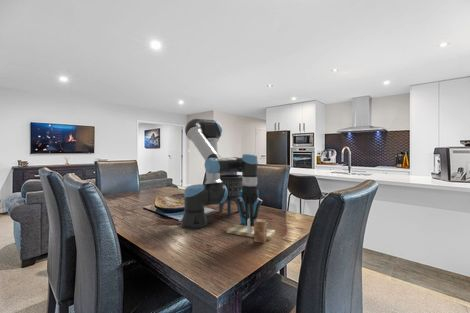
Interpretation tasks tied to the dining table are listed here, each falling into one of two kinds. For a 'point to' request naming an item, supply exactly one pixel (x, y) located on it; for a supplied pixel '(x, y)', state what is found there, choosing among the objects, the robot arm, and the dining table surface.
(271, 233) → the board
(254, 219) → the block
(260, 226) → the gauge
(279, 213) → the dining table surface
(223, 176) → the planter
